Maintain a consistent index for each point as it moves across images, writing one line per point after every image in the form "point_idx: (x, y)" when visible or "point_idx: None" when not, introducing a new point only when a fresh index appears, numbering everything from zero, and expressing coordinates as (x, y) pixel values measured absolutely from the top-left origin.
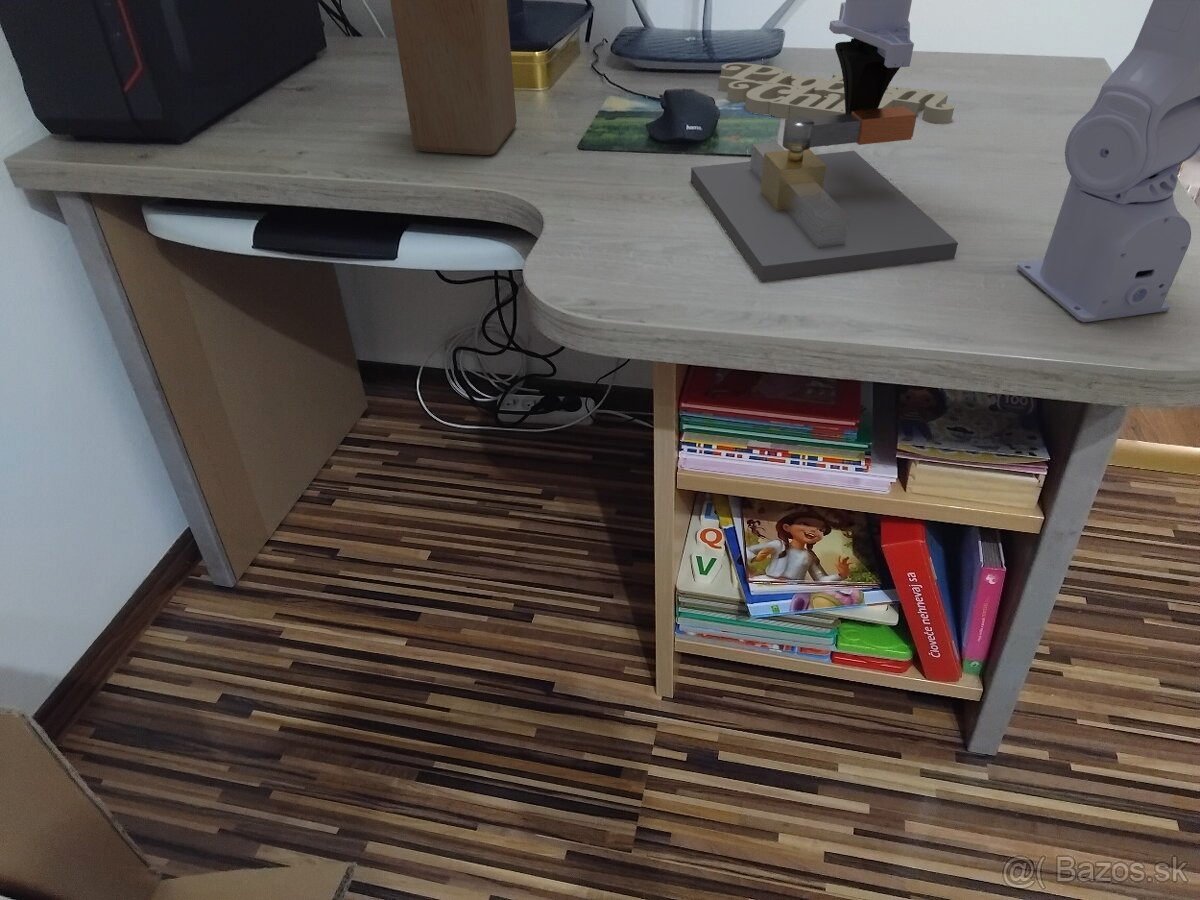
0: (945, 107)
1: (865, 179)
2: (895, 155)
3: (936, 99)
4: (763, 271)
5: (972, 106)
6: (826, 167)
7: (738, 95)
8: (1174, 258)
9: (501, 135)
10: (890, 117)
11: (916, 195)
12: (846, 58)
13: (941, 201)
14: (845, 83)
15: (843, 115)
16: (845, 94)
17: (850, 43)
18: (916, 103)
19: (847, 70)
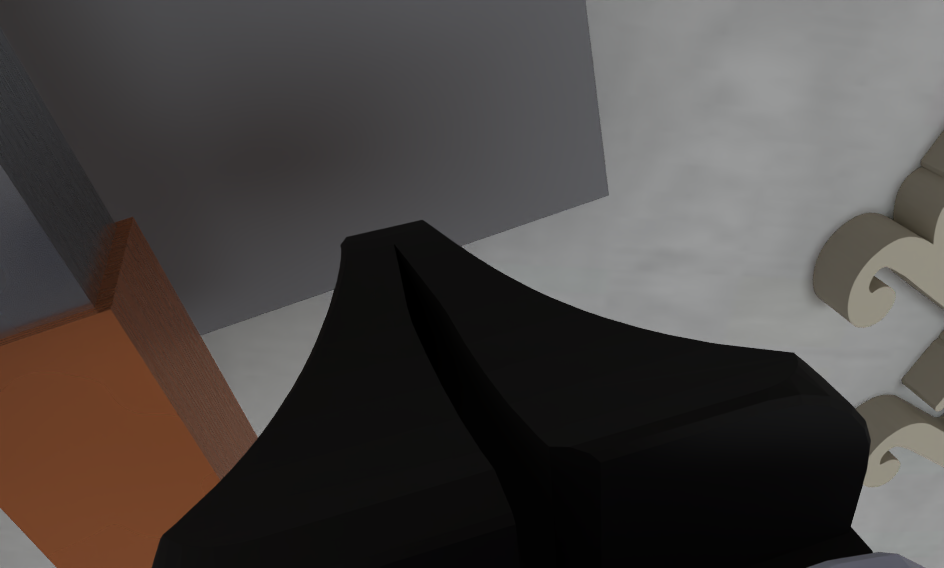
0: (876, 468)
1: (295, 220)
2: (642, 318)
3: (938, 448)
4: None
5: (909, 498)
6: (428, 57)
7: None
8: None
9: None
10: (30, 533)
11: (299, 367)
12: (272, 524)
13: (256, 433)
14: (488, 312)
15: (16, 238)
16: (466, 276)
17: (781, 536)
18: (937, 401)
19: (405, 407)
